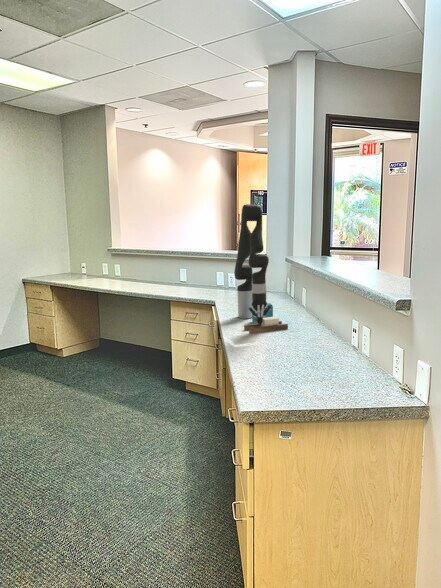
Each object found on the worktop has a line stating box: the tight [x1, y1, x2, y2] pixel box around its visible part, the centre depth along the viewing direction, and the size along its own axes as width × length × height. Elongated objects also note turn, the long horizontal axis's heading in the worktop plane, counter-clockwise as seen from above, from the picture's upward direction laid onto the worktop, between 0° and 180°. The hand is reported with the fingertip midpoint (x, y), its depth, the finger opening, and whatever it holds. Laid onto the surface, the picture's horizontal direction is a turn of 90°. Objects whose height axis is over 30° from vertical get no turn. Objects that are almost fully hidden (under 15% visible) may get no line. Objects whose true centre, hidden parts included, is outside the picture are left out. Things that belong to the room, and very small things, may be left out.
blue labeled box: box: [251, 302, 274, 324], centre depth 248 cm, size 12×4×12 cm, turn 89°
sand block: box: [261, 316, 280, 326], centre depth 230 cm, size 5×8×6 cm, turn 109°
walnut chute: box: [243, 320, 289, 335], centre depth 230 cm, size 10×22×4 cm, turn 108°
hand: (259, 323), depth 228 cm, fingers closed
